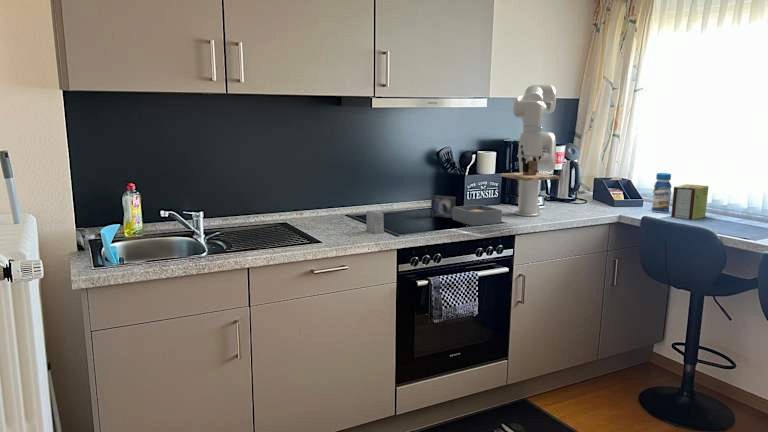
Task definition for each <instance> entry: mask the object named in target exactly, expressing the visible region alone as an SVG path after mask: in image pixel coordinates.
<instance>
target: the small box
mask: <svg viewBox="0 0 768 432" xmlns="http://www.w3.org/2000/svg"><path fill="white" fill-rule="evenodd" d="M456 198H457V197H456V196H450V195H449V196H448V195H440V194H439V195H438V194H436V195H434V196H431V202H430V203H431V205H430V207H431V210H430V213H431V215H430V217H431V218H438V217H440V218H448V219H451V218H452V219H453V207H456Z"/></svg>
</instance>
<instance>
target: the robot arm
mask: <svg viewBox="0 0 768 432" xmlns="http://www.w3.org/2000/svg"><path fill="white" fill-rule="evenodd" d="M556 102H557V91H556V87H555V86H554V85H551V84H533V85H530V86H528V87H527V88H526V89H525V91H524V94H522V95H518V96H517V97H516V98H515V99H514V102H513V107H512V111H513V115H514V117H515V118H519V119H521V120H522V125H523V127H522V128H523V129H522V133H521V134H520V137H519V142H518V152H517V155H516V157H517V158H518V169H519V173H521V172H528V167H529V163H528V161H537V169H536V173H538V172H552V171H553V170H555V167H556V152H557V151H556V150H557V149H556V148H557V146H556V145H557V144H556V141H557V140H556V135H555V134H554V133H553V132H551V131H543V127H542V118H544V116H545V115H546V114H547V115H548V114H552V113H554V111H555V109H556V104H557V103H556ZM518 183H519V184H518V186H519V188H518V200H517V201H518V203H517V204H518V206H517V209H516V210H515V211H514V214H515V215H517V216H521V217H538V216H541V211H544V210H545V209H546V207H545V206H544V205H539V188H540V187H539V186H540V180H531V181H524V180H519V182H518Z"/></svg>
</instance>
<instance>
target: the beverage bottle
mask: <svg viewBox="0 0 768 432" xmlns="http://www.w3.org/2000/svg"><path fill="white" fill-rule="evenodd" d="M671 178H672V175H671V173H668V172H657V173H656V178H655V179H656V182H655V183H654V185H653V191H652V193H653V195H652V196H653V197H652V205H651V206H652V207H651V211H652V212H654V213H658V214H659V213H660V214H667V213H669V212H670V201H671V194H672V190H671V189H672V184H671V182H670V181H671Z"/></svg>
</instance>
